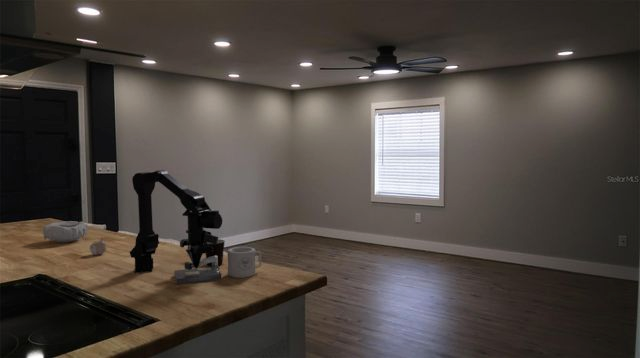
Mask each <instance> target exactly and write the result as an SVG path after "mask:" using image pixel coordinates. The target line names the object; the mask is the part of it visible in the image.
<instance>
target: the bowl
mask: <svg viewBox="0 0 640 358" xmlns="http://www.w3.org/2000/svg"><path fill="white" fill-rule="evenodd" d="M42 232H43V239H44V241H45V240H47V239H48V240H50V241H53V242H56V243H69V242H70V243H71V242H73V241H77V240H79V239H81V238H83V237H86V236H87V235H88V224H86V223H85V222H84V221H79V222H78V221H72V220H69V221H68V220H66V221H60V222H55V221H54V222H51V223H49V224H47V225H44V226H43V231H42Z"/></svg>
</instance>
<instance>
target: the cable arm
mask: <svg viewBox="0 0 640 358" xmlns="http://www.w3.org/2000/svg"><path fill="white" fill-rule="evenodd" d="M210 262H212V266H211V267H215V266H216V267H217V268H218V267H219V266H218V256H217V255H214V256H211V257H207V258H206V257H204V258H201V259H200V263H199V267H200V266H203V265H207V263H210ZM185 269H188V270H191V269H195V267H194V265H193V263H192V261H190V262H189V261H186V262H184V270H185Z"/></svg>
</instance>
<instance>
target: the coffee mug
mask: <svg viewBox="0 0 640 358" xmlns="http://www.w3.org/2000/svg"><path fill="white" fill-rule="evenodd" d="M225 242H226V241H225V239H219V238H218V240H217V244H216V245H214V244H212V243H208V242H207V244H210V245H211V246H213V252H211V253H204V254H205V258H207V257H211V256H214V255H217V256H218V267H220V266H222V265H223V260H224V250H225ZM207 265H208V266H207ZM206 266H207V267H212V262H210V263H207V264H206Z"/></svg>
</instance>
